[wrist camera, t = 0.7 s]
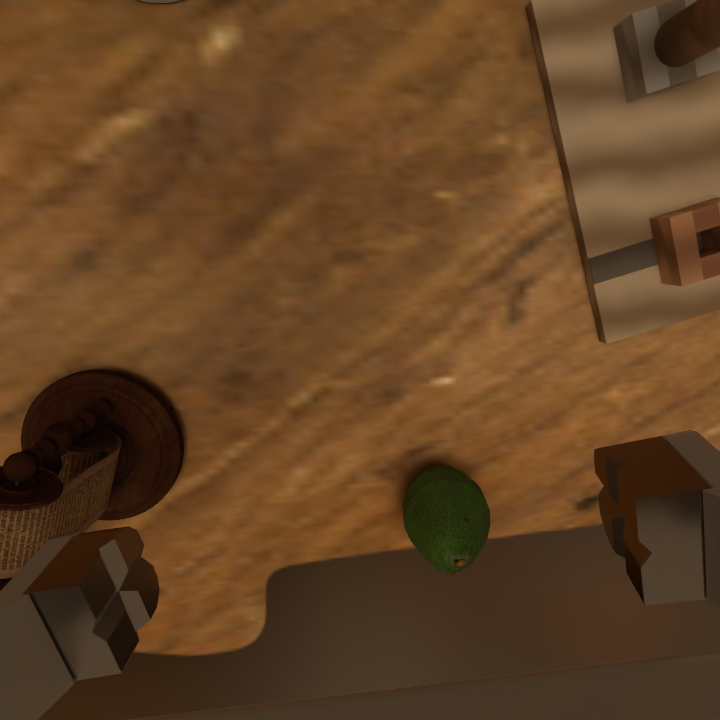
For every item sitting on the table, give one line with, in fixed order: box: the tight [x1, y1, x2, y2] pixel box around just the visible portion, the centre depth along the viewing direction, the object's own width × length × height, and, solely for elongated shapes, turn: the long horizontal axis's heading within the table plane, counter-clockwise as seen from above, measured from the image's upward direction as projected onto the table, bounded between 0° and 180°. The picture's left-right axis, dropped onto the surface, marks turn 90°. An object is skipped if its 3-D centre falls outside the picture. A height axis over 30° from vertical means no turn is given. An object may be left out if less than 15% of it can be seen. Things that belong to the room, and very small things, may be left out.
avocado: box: [402, 465, 490, 574], centre depth 51 cm, size 8×8×12 cm
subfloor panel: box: [526, 0, 720, 344], centre depth 48 cm, size 30×18×5 cm, turn 17°
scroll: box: [0, 370, 184, 591], centre depth 45 cm, size 15×15×20 cm
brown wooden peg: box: [654, 0, 720, 67], centre depth 41 cm, size 4×4×12 cm
